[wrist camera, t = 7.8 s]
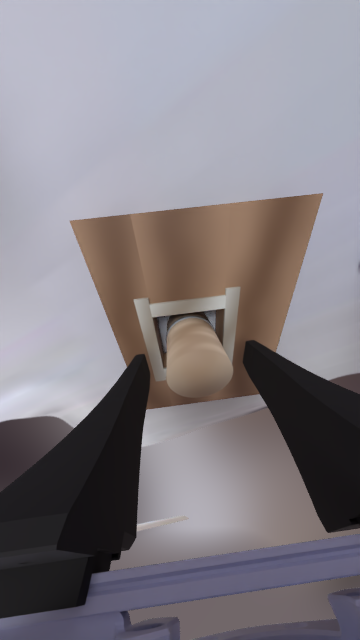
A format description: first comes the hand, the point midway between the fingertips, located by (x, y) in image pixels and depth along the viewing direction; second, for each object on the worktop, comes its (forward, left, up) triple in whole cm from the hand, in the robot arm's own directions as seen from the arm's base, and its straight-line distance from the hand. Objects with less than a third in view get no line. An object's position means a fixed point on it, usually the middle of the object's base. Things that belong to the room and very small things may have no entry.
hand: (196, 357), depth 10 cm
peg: (0, 0, -4) cm, 4 cm away
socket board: (-1, 0, -4) cm, 4 cm away
